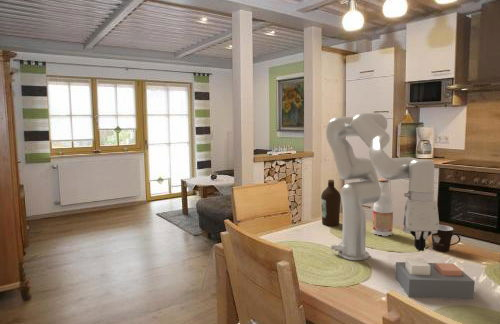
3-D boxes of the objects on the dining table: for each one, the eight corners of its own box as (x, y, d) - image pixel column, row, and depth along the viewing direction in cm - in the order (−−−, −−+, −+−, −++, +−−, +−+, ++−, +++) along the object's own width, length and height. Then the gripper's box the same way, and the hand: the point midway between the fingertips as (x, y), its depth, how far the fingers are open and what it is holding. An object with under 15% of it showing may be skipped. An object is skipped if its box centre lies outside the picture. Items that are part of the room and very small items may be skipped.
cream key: (411, 278, 117) (411, 265, 116) (405, 270, 123) (405, 258, 122) (429, 278, 116) (430, 266, 116) (422, 271, 122) (423, 259, 122)
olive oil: (336, 220, 201) (337, 178, 198) (343, 226, 190) (343, 181, 187) (318, 221, 200) (319, 178, 197) (324, 227, 189) (324, 181, 186)
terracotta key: (442, 283, 116) (442, 270, 115) (434, 275, 122) (435, 263, 121) (461, 283, 115) (462, 270, 115) (452, 275, 121) (453, 263, 121)
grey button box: (408, 296, 113) (409, 279, 113) (395, 277, 127) (395, 262, 127) (473, 299, 111) (474, 281, 111) (452, 279, 125) (453, 263, 125)
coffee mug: (425, 246, 158) (426, 225, 157) (443, 245, 159) (444, 224, 158) (442, 256, 147) (443, 233, 146) (461, 255, 148) (462, 232, 146)
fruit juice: (381, 237, 171) (383, 181, 168) (368, 232, 179) (370, 178, 176) (396, 235, 174) (398, 180, 171) (383, 230, 183) (384, 177, 180)
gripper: (401, 198, 113) (400, 253, 115) (449, 198, 112) (448, 254, 113) (394, 194, 121) (393, 245, 122) (439, 194, 119) (438, 246, 121)
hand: (419, 249), depth 118 cm, fingers closed
